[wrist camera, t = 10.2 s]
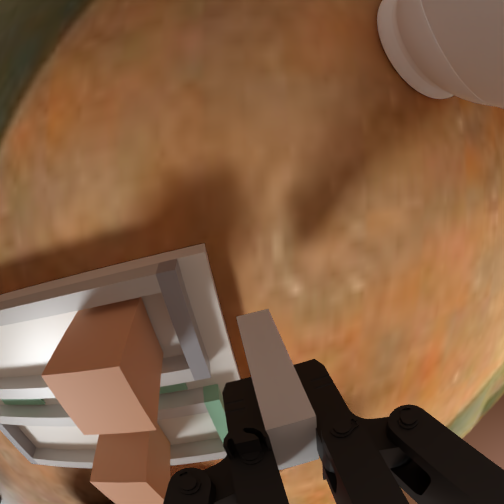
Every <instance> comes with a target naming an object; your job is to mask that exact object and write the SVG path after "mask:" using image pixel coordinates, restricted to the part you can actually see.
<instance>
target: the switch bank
mask: <svg viewBox="0 0 504 504" xmlns="http://www.w3.org/2000/svg"><path fill="white" fill-rule="evenodd" d="M139 297H141V298H142V300H143V303H144V306H145V309H146V311H147V314H148V316H149V319H150V322H151V324H152V327H153V329H154V332H155V334H156V337H157V339H158V341H159V344H160V346H161V349H162V351H163V362H162V372H161V382H160V393H159V404H158V418H157V423H158V425H159V426H160V428H161V429H162V431H163V433H164V434H165V436H166V437H167V439H168V440H169V442H170V466H171V465H181V464H189V463H197V462H204V461H210V460H217V459H222V458H225V457H226V455H227V453H226V451H225V449H224V447H223V441H224V438H225V436H226V435H227V433H228V429H227V423H226V416H225V409H224V403H223V396H222V392H223V389H224V387H225V384H226V383H227V382H232V381H236V380H241V377H240V374H239V370H238V367H237V363H236V360H235V357H234V353H233V350H232V346H231V342H230V339H229V335H228V332H227V328H226V324H225V321H224V317H223V313H222V310H221V306H220V302H219V298H218V295H217V291H216V287H215V283H214V279H213V275H212V272H211V268H210V264H209V260H208V256H207V252H206V248H205V243H203V244H199V245H195V246H191V247H186V248H182V249H178V250H174V251H169V252H165V253H161V254H157V255H153V256H149V257H145V258H141V259H136V260H132V261H128V262H124V263H120V264H116V265H112V266H108V267H104V268H100V269H96V270H92V271H88V272H84V273H80V274H77V275H73V276H69V277H65V278H61V279H57V280H53V281H49V282H46V283H42V284H38V285H34V286H31V287H27V288H23V289H19V290H16V291H12V292H8V293H4V294H1V295H0V430H1V431H2V432H3V434H4V435H5V436H6V437H7V438H8V439H9V440H10V441H11V443H12V444H13V445H14V446H15V447H16V448H17V449H18V450H19V451H20V452H21V453H22V454H23V455H24V456H25V457H26V458H27V459H28V460H29V461H30V462H31V463H32V464H39V465H48V466H59V467H73V468H92V466H93V461H94V456H95V451H96V446H97V441H98V437H99V434H98V435H84V434H83V433H82V432H81V431H80V429H79V428H78V427H77V426H76V424H75V423H74V422H73V420H72V419H71V418H70V416H69V415H68V414H67V413H66V411H65V410H64V408H63V407H62V406H61V404H60V403H59V402H58V400H57V399H56V397H55V396H54V394H53V393H52V391H51V390H50V389H49V387H48V386H47V384H46V382H45V381H44V379H43V378H42V376H41V375H42V373H43V371H44V369H45V367H46V365H47V363H48V362H49V360H50V358H51V356H52V354H53V352H54V351H55V349H56V347H57V345H58V344H59V342H60V340H61V338H62V337H63V335H64V333H65V331H66V330H67V328H68V326H69V325H70V323H71V321H72V320H73V318H74V316H75V315H76V313H77V312H78V310H83V309H88V308H92V307H97V306H102V305H106V304H111V303H116V302H120V301H125V300H129V299H134V298H139Z"/></svg>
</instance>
